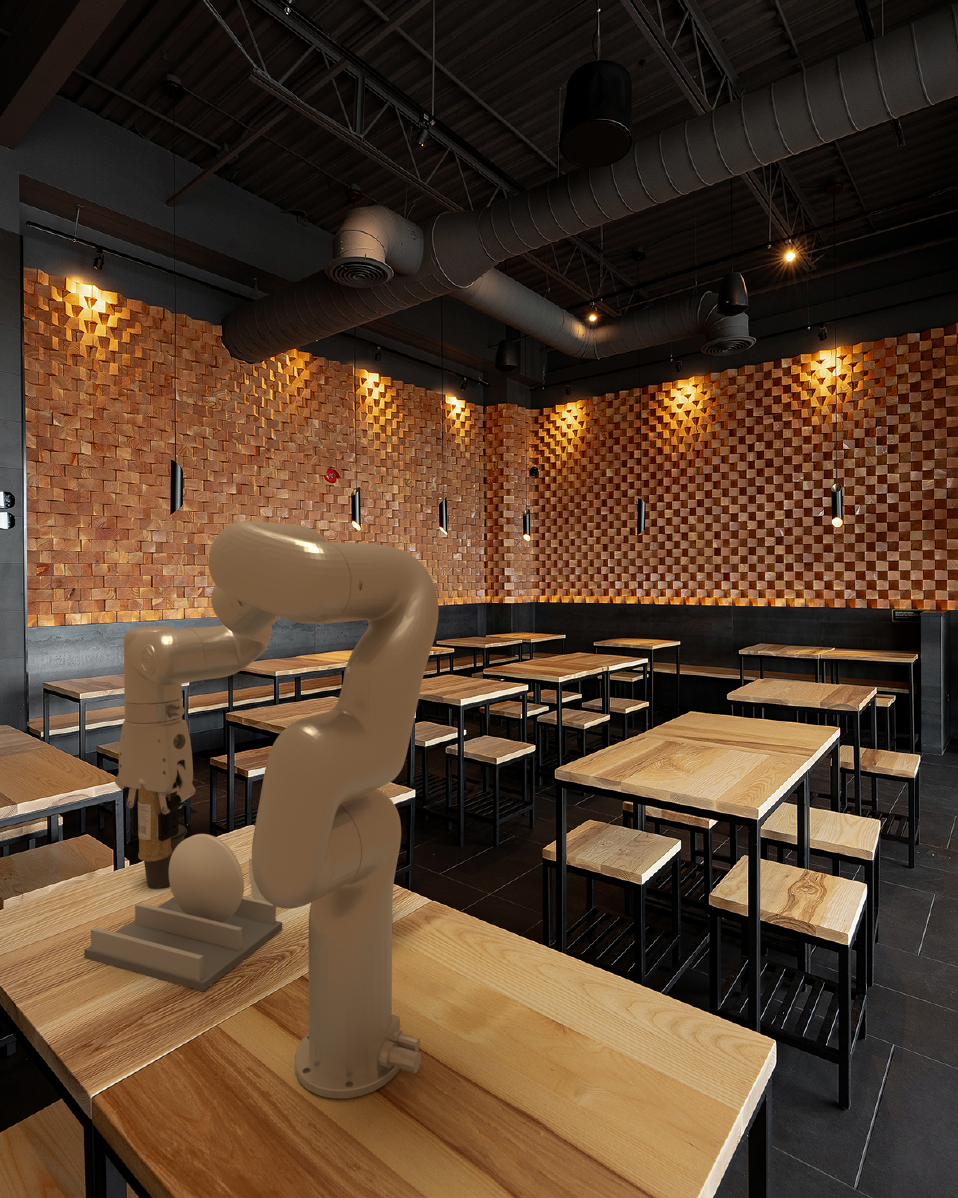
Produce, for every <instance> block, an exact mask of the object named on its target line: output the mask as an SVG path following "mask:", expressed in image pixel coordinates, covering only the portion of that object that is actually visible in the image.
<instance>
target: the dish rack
mask: <svg viewBox="0 0 958 1198" xmlns="http://www.w3.org/2000/svg"><path fill="white" fill-rule="evenodd" d="M169 882H170V887H169V888H170V890H171V892H172V893H171V894H172V896H173V897H172V898H170V899H169V900H167V901H165V902H164V903H162V904H160V905H158V906H154V905H152V904H151V905H150V904H146V903H142V902H138V903H137V904H135V905H134V907H135V908H134V909H135V910H134V916H135V917H134V919H135V920H133V921H131V922H128V923H127V924H125V925H124V926H122V927H120V928H119V929H117V930H115V931H111V930H108V929H104V928H100V927H96V926H95V927H93V928H91V929H90V946H88V947H86V948H84V949H83V950H84V951H83V953H84V954H83V955H84V958H85V959H89V960H92V961H94V962H95V961H96V962H98V963H102V964H106V965H109V966H113V967H116V968H120V969H123V970H125V971H129V972H132V973H136V974H140V975H143V976H147V977H151V978H153V979H158V980H161V981H164V982H167V981H168V983H170V982H172V983H171V984H173V985H174V984H175V985H177V984H181V985H184V986H186V987H185V988H188V989H191V988H194V989H197V990H196V991H198V990H200V991H199V992H201V991H204V990H205V991H207V990H208V989H209V988H210V987H211V986H210V985H211V984H213V983H214V982H216V981H217V980H218V981H220V980H221V979H222V978H223V977H224V976H226V975H227V974H228V973H230V972H231V971H232V970H233V969H235V968H236V967H237V966H238V965H240V964H241V963H242V962H243V961H244V960H246V959H248V957H250V956H251V955H252V954H253V953H255V952H256V951H257V950H259V949H260V948H261V947H263V946H264V945H265V944H267V942H269V941H270V940H271V939H273V938H274V937H276V935H278V933H280V932H282V931H283V922H282V921H277V915H276V914H277V910H276V909H277V907H276V906H274V905H272V904H271V903H269V902H267V901H263V900H258V899H255V898H254V897H249V896H245V895H244V892H245V884H244V883H245V881H244V875H243V870H242V867H241V865H240V862H239V860H238V858H237V856H236V855H235V853H234V852H233V851H232V849H231V847H229V846H228V845H227V843H225V842H224V841H223V840H221V839H220V838H218V837H216V836H214V835H212V834H207V833H197V834H194V835H191V836H189V837H187V838H184V840H183V841H182V842H181V843H180V844H178V846H177V847H176V848H175V850H174V852H173V854H172V856H171V859H170V863H169ZM222 976H223V977H222ZM221 977H222V978H221ZM220 978H221V979H220ZM218 981H217V982H218ZM217 982H216V983H217ZM214 984H215V983H214ZM214 984H213V985H214ZM181 985H180V986H181ZM184 986H183V987H184ZM209 986H210V987H209ZM208 987H209V988H208ZM207 988H208V989H207ZM194 989H193V990H194ZM206 989H207V990H206ZM205 991H204V992H205Z"/></svg>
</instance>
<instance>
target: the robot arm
mask: <svg viewBox="0 0 958 1198" xmlns="http://www.w3.org/2000/svg"><path fill="white" fill-rule="evenodd" d="M207 560H208V562H207V563H208V570H209V575H210V577H211V580H212V582H213V583H214V587H213V589H212V592H211V596H210V597H211V598H210V599H211V607H212V609H213V610H212V611H213V612H214V614H215V616H216V617H217V619H218V621H219V622H220V623H221V625H215V626H214V625H213V626H212V625H211V626H201V627H200V626H199V627H187V628H179V629H178V628H175V627H173V626H166V625H160V626H158V625H157V626H156V625H155V626H154V625H151V626H148V625H147V626H138V627H133V628H130V629H129V630H127V631H126V632H125V633H124V638H123V675H124V677H123V679H124V680H123V684H124V685H123V690H124V691H123V692H124V695H123V696H124V720H123V722H122V727H121V731H120V732H121V733H120V741H119V748H118V749H119V750H118V773H117V775H116V777H115V779H114V784H116V786H117V787H118V788H119V789H120V791H122V794H123V796H124V797H125V798H126V800H127V803H126V805H127V807H128V808H129V809H130V834H131V836H135V837H136V836H138V789H140V788H141V786H140V784H143V785H145V786H144V787H143V788H145V789H146V790H148V791H152V792H156V793H158V796H159V801H160V806H161V811H162V813H160V814H158V839H159V841H165V840H167V839H169V838H171V837H173V836H175V835H177V834H178V824H179V809H182V807H183V804H184V803H185V802H187V800H188V799H189V798H191V797H192V796H194V795H195V794H196V790H197V789H196V788H195V786H194V785H193V781H194V780H193V779H194V769H193V768H194V767H193V752H192V745H191V744H192V743H191V736H190V732H189V727H188V723H187V721H186V719H183V715H184V714H185V713H186V709H185V707H184V706H183V703H182V702H183V695H182V693H183V692H182V691H183V690H182V689H183V688H182V686H183V684H188V683H193V682H198V681H205V680H213V679H221V678H226V677H229V676H232V675H235V674H237V673H239V672H240V671H243V670H244V669H245V668H247V667H248V666H249V665H251V664H252V663H253V662H255V660H257V659H258V658H259V657H261V656H262V655H263V654H264V653H265V652H266V650H267V648H268V647H269V644H270V640H271V636H272V633H273V632H272V631H273V630H272V629H273V626H272V625H274V624H275V623H276V622H278V621H279V620H280V619H281V618H282V619H285V620H288V621H292V622H296V623H300V624H307V625H325V624H335V623H345V622H347V623H349V622H359V621H367V622H368V627H367V629H366V631H365V632H364V633H363V635H362V636H361V637H360V639H359V641H358V642H357V643H356V645H355V647H354V648H353V650H352V652H351V654H350V656H349V659H348V660H347V663H346V665H345V666H346V667H345V670H344V673H343V674H344V675H343V682H342V686H341V690H340V694H339V697H338V699H337V702H336V705H335V706H334V707H333V708H332V709H331V710H329V711H325V712H321V713H318V714H314V715H310V716H305V717H303V718H301V719H299V720H296V721H294V722H292V723H291V724H289V725H288V726H287V727H286V728H285V727H284V728H285V729H283V730H282V732H280V734H279V735H278V736H277V737H276V739H275V741H274V742H273V745H272V747H271V749H270V751H269V753H268V757H267V760H266V764H265V769H264V774H263V775H264V776H263V779H262V786H261V791H260V797H259V802H258V803H259V804H258V808H257V813H256V819H255V825H254V831H253V836H252V844H251V860H252V871H253V876H254V880H255V883H256V885H257V887H258V889H259V891H260V893H261V894H262V896H263V897H264V898H265V899H266V900H267V901H268V902H269V903H271V904H272V905H274V906H276V908H280V909H289V910H291V909H297V908H301V907H304V906H306V905H309V904H310V906H309V912H308V1033H307V1034H305V1036H304V1037H303V1038H302V1039H301V1040H300V1041H299V1042H300V1043H299V1044H298V1046H297V1048H296V1051H295V1054H294V1071H295V1074H296V1077H297V1080H298V1081H299V1082H300V1084H301V1085H302V1086H303V1087H304V1088H305V1089H306V1090H308V1091H310V1092H311V1093H313V1094H315V1095H318V1096H321V1097H325V1098H329V1099H342V1100H343V1099H352V1098H356V1097H357V1096H358V1097H361V1096H365V1095H367V1094H370V1093H373V1092H375V1091H377V1090H378V1089H380V1088H382V1087H383V1086H385V1085H386V1084H387V1083H389V1082H390V1081H391V1080H393V1078H394V1077H395V1076H396V1075H397V1074H398V1073H399V1072H400V1070H402V1071H406V1072H409V1073H413V1074H417V1072H418V1071H419V1068H420V1066H421V1062H422V1054H421V1053H420V1052H418V1051H419V1050H420V1045H421V1039H420V1038H418V1037H414V1036H411V1035H405V1034H403V1031H402V1030H401V1027H400V1026H401V1017H400V1016H399V1015H397V1014H392V1013H393V1012H392V1010H393V1008H392V1005H393V1002H392V1000H393V998H392V997H393V983H392V982H393V906H394V905H393V900H394V897H393V896H394V882H395V876H396V869H397V864H398V860H399V859H398V858H399V854H400V849H401V841H402V825H401V817H400V814H399V811H398V808H397V806H396V805H395V804H394V802H393V800H392V799H391V798H390V797H389V796H388V795H387V794H386V793H385V792H383V791H381V790H379V789H380V788H382V787H385V786H386V785H388V784H389V783H392V782H393V781H394V780H395V779H396V778H397V776H399V774H400V772H402V769H403V767H404V764H405V761H406V757H407V755H408V749H409V745H410V742H411V741H410V740H411V735H412V730H413V726H414V721H415V716H416V712H417V708H418V704H419V698H420V693H421V689H422V683H423V680H424V679H423V678H424V674H425V672H426V668H427V663H428V660H429V657H430V654H431V650H432V648H433V644H434V641H435V637H436V633H437V627H438V621H439V599H438V594H437V589H436V586H435V584H434V582H433V581H434V580H433V579H432V577H431V575H430V573H429V571H428V570H427V568H426V567H425V566H424V565H423V564H422V562H420V560H419V559H418V558H416V557H415V556H414V555H412V554H411V553H409V552H407V551H405V550H403V549H401V548H398V547H394V546H390V545H384V544H377V543H376V544H375V543H360V542H359V543H358V542H356V543H355V542H336V541H335V542H332V541H331V542H330V541H328V540H327V539H326V538H325V536H323V535H322V534H321V533H320V532H319V531H317V530H315V529H313V528H311V527H307V526H304V525H301V524H293V523H282V522H267V521H254V520H253V521H252V520H245V521H244V520H243V521H238V522H234V523H232V524H230V525H228V526H226V527H225V528H223V530H221V531H220V532H219V534H218V535H216V537H215V538H214V540H213V542H212V544H211V546H210V550H209V552H208V558H207ZM140 778H142V779H143V780H144V781H145V783H140V782H139V779H140ZM169 794H170V797H171V798H170V801H169V799H168V795H169Z"/></svg>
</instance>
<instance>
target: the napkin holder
mask: <svg viewBox="0 0 958 1198" xmlns="http://www.w3.org/2000/svg"><path fill="white" fill-rule="evenodd" d="M248 883H249V885H250V884H251V888H250V889H251V894H252V895H253V896H252V895H251V896H252V898H254V899H258V900H263V901H267V900H266V899H265V898H264V897H263V896H262V894H261V893H260V891H259V889H258V887H257V885H256V883H255V880H254V876H253V871H252V860H251V856H248ZM267 902H268V901H267Z"/></svg>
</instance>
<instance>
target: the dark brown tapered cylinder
mask: <svg viewBox="0 0 958 1198" xmlns="http://www.w3.org/2000/svg"><path fill="white" fill-rule="evenodd" d="M187 833H188V828H186V827H185V826H184V825H182V824H179V823H178V834H177V835H175V836H173V837H171V849H172V853H171V854H170V855H169V856H168V857H166V858H164V859H161V860H158V861H150V862H147V861H143V863H144V870H145V871H144V872H145V876H146V877H145V878H146V885H147V887H148V888H149V889H153V890H163V889H168V888H171V887H170V882H169V863H170V859H171V856H172V854H173V852H174V850H175V848H176V847H177V846H178V844H180V843H181V842H182V841H183V840H185V836H186V835H187ZM137 838H138V839H137V840H138V841H139V836H137Z"/></svg>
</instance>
